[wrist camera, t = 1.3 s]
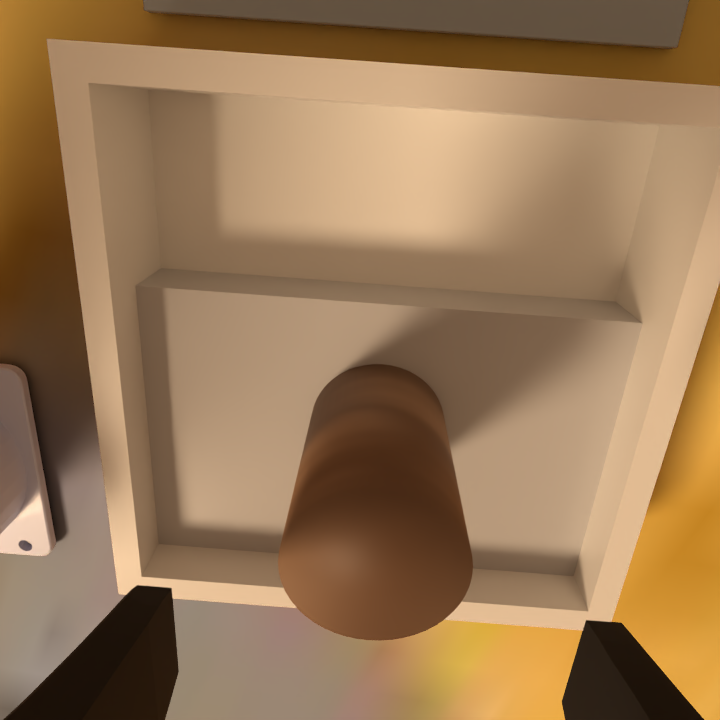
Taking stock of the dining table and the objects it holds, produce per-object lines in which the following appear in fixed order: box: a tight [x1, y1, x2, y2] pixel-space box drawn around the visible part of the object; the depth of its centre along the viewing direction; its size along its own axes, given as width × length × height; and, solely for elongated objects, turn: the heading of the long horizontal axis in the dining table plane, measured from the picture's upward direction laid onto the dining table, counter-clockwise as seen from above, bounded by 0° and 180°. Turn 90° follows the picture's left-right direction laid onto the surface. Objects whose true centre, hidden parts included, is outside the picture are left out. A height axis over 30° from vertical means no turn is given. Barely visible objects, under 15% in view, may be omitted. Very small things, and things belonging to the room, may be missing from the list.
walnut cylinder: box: [278, 364, 473, 640], centre depth 15 cm, size 4×4×6 cm
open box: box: [47, 39, 720, 630], centre depth 17 cm, size 16×16×4 cm
